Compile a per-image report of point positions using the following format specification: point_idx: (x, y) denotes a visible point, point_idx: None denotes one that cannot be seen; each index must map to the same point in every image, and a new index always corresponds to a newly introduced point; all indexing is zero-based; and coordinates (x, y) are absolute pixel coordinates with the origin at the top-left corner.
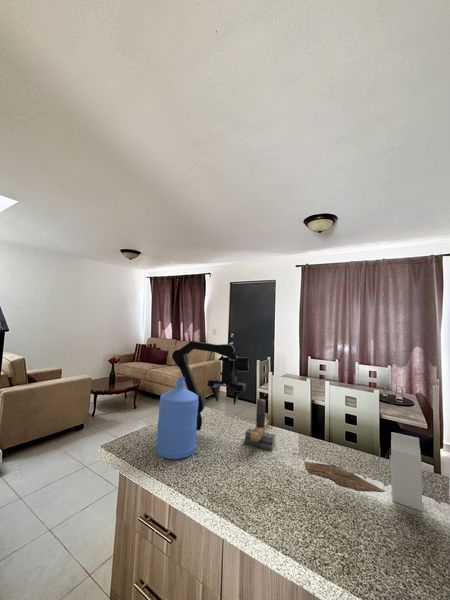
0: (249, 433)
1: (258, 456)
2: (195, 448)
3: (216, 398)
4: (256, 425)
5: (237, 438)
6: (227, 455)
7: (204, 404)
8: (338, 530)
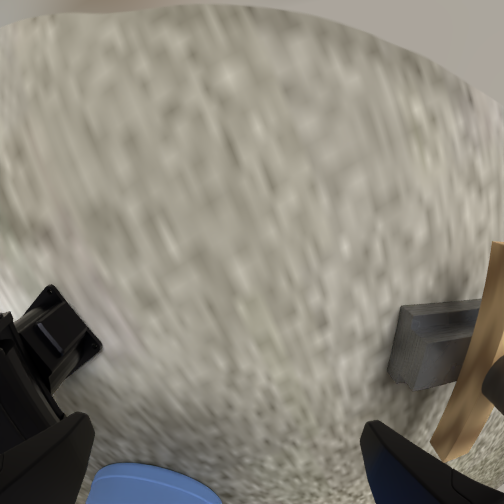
0: (429, 385)
1: (436, 414)
2: (216, 497)
3: (80, 474)
4: (483, 393)
5: (343, 342)
6: (334, 466)
7: (22, 414)
8: (497, 470)
